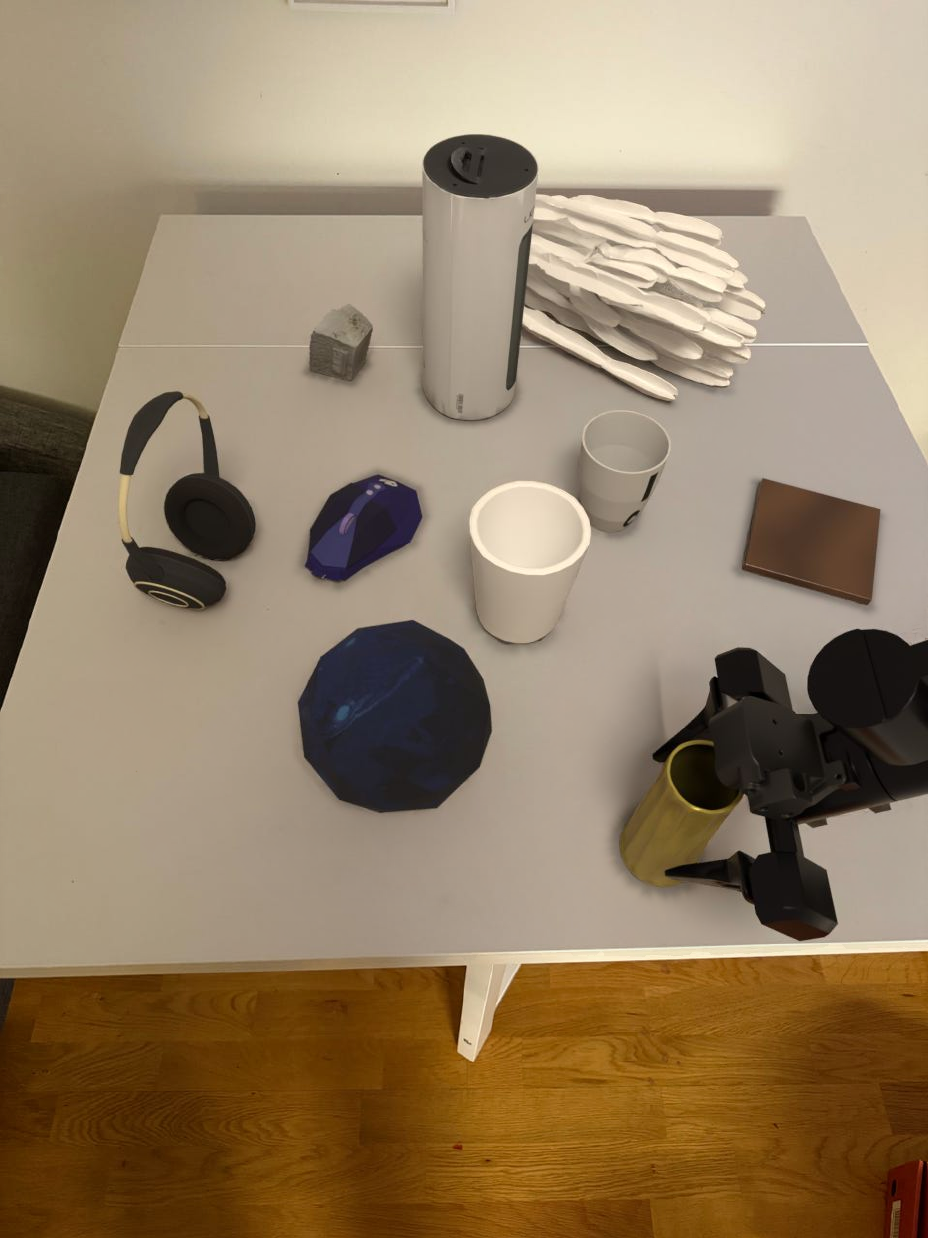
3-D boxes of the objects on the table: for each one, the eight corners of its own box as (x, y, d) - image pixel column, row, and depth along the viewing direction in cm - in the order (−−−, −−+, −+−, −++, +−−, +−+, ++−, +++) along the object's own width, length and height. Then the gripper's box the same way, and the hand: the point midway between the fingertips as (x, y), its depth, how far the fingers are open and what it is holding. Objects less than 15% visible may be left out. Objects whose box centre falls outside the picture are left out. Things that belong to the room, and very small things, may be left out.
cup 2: (637, 554, 84) (659, 483, 76) (557, 530, 86) (571, 458, 77) (656, 496, 89) (679, 423, 80) (580, 474, 90) (595, 400, 82)
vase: (661, 904, 66) (712, 839, 54) (602, 844, 68) (639, 770, 56) (712, 853, 68) (772, 780, 56) (654, 797, 70) (700, 716, 59)
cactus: (416, 260, 94) (713, 385, 83) (496, 109, 93) (805, 217, 82) (461, 327, 110) (714, 439, 100) (529, 199, 109) (791, 299, 99)
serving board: (876, 515, 88) (880, 508, 87) (867, 605, 82) (872, 599, 81) (759, 484, 90) (762, 477, 89) (741, 570, 84) (744, 564, 83)
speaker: (498, 433, 93) (519, 201, 71) (407, 409, 95) (401, 175, 73) (526, 371, 99) (553, 139, 77) (440, 349, 100) (443, 116, 78)
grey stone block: (295, 386, 95) (290, 316, 89) (330, 353, 101) (328, 285, 95) (356, 402, 93) (355, 331, 88) (388, 367, 100) (389, 299, 94)
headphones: (125, 627, 78) (42, 471, 61) (194, 507, 86) (138, 341, 69) (214, 649, 77) (154, 497, 60) (276, 526, 85) (238, 362, 68)
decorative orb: (247, 810, 63) (361, 747, 53) (282, 637, 71) (385, 554, 61) (405, 858, 70) (532, 810, 60) (420, 696, 79) (532, 630, 69)
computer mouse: (441, 500, 87) (442, 472, 84) (363, 605, 80) (360, 579, 77) (363, 466, 90) (360, 438, 86) (280, 565, 82) (274, 539, 79)
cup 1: (581, 652, 78) (605, 566, 67) (473, 666, 77) (480, 581, 66) (556, 565, 83) (575, 473, 73) (456, 577, 82) (459, 485, 72)
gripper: (792, 573, 53) (586, 659, 62) (862, 874, 43) (603, 925, 52) (865, 646, 60) (669, 714, 69) (941, 921, 50) (699, 959, 59)
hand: (660, 814), depth 62 cm, fingers open, 8 cm apart
